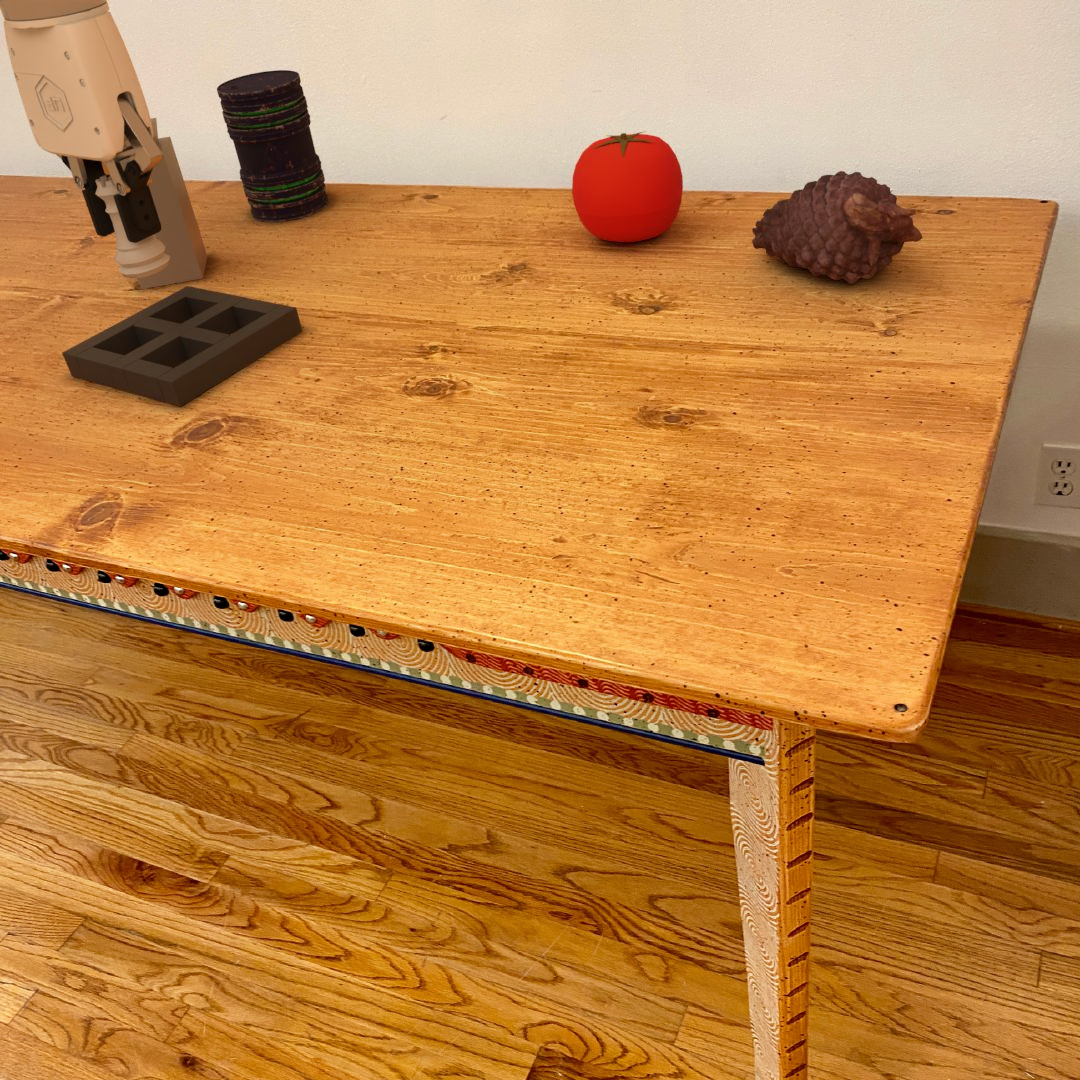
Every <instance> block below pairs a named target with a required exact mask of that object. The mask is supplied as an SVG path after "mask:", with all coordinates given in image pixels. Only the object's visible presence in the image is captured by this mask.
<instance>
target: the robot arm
mask: <svg viewBox="0 0 1080 1080" xmlns="http://www.w3.org/2000/svg"><path fill="white" fill-rule="evenodd" d="M109 10H110V7H109V3H108V1H107V0H0V11H1V15H2V17H3V28H4V36H5V41H6V45H7V46H6V47H7V52H8V56H9V60H10V64H11V67H12V72H13V76H14V79H15V82H16V85H17V89H18V93H19V96H20V99H21V102H22V105H23V108H24V112H25V115H26V118H27V120H28V124H29V127H30V130H31V132H32V135H33V137H34V138H33V139H34V140H35V143H36V144H37V145H38V147H39V148H41V149H42V150H44V151H45V152H47V153H50V154H52V155H56V157H58V158H59V159H60V160H61V161H62V163H63V164H64V165H65V166H66V167H67V169H68V170H69V171H70V172H71V175H72V179H73V182H74V184H75V186H76V187H77V188H78V189H80V190H81V194H82V196H83V198H84V202H85V204H86V207H87V211H88V213H89V217H90V218H91V221H92V225H93V227H94V230H95V234H96V235H97V236H99V237H107V236H109V235H112V234H115V231H114V227H113V223H112V220H111V218H110V215H109V214H108V213H107V212H106V211H105V210H106V204H105V202H104V200H102V199H101V198H100V197H98V196H97V195H96V194H95V193H96V190H97V184H96V182H95V181H96V179H100V177H102V176H104V175H105V176H106V177H107V180H108V178H109V177H110V176H111V179H112V181H113V183H114V185H115V188H116V190H117V192H118V193H119V194H117V195H114V196H113V197H114V200H115V203H116V206H117V209H118V212H119V215H120V218H121V221H122V224H123V227H124V230H125V233H126V236H127V239H128V241H130V242H133V243H137V242H139V241H141V240H143V239H145V238H148V237H150V236H152V235H154V234H156V233H158V232H160V231H161V228H162V227H161V223H160V220H159V217H158V214H157V211H156V207H155V204H154V201H153V198H152V195H151V191H150V188H149V185H151V184H152V179H151V176H150V175H151V172H152V170H153V167H155V166H156V165H157V164H158V163H159V162H160V161H161V160H162V153H161V151H160V149H159V148H158V146H157V144H156V143H155V141H154V140H153V127H152V123H151V114H150V111H149V107H148V104H147V102H146V98H145V95H144V92H143V88H142V87H141V84H140V81H139V77H138V75H137V72H136V70H135V67H134V63H133V61H132V59H131V57H130V54H129V52H128V49H127V45H126V44H125V41H124V39H123V37H122V34H121V33H120V30H119V27H118V26H117V24H116V21H115V20H114V18H113V16H112V13H111V11H109ZM124 144H125V146H126V148H123V146H124ZM126 158H129V160H130V162H128V163H127V164H126V167H125V170H124V171H123V168H122V166H121V163H120V161H121V160H124V159H126ZM109 180H110V179H109ZM100 181H101V180H100Z"/></svg>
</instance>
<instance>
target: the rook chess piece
mask: <svg viewBox="0 0 1080 1080" xmlns="http://www.w3.org/2000/svg"><path fill="white" fill-rule="evenodd" d="M100 180H101V181H100ZM95 182H96V184H97V190H96V193H95V194H96V195H97V196H98V197H100V198H101V199H102V200H104V202H105V204H106V210H105V211H106V212H107V213H108V214H109V215H110V218H111V220H112V223H113V227H114V231H115V232H114V235H115V238H116V239H115V240H116V245H115V248H116V250H117V251H116V253H115V255H114V261H115V263H117V264H118V265H119V266H120V267H119V269H118V273H120V274H121V275H122V276H123V277H125V278H126V279H137V278H141V277H145V276H149V275H152V274H155V273H157V272H159V271H161V270H163V269H164V268H166V267H167V266H168V262H169V259H170V256H169V255H168V254H165V253H164V251H165V248H166V247H165V246H164V244H163V243H162V242H161V241H159V240H157V239H156V236H155V235H152V236H150V237H148V238H145V239H143V240H141V241H139V242H137V243H133V242H130V241H128V239H127V236H126V233H125V230H124V227H123V224H122V221H121V218H120V215H119V212H118V209H117V206H116V203H115V200H114V197H113V196H114V195H117V194H119V193H118V192H117V190H116V188H115V185H114V183H113V181H112V179H110V180H107V177H106V176H105V175H104V176H102V177H100V179H96V181H95Z"/></svg>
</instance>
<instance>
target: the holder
mask: <svg viewBox="0 0 1080 1080" xmlns="http://www.w3.org/2000/svg"><path fill="white" fill-rule="evenodd" d="M302 332H303V327H302V324H301V321H300V316H299V312H298V309H297V307H295V306H291V305H286V304H280V303H275V302H270V301H265V300H260V299H255V298H249V297H246V296H241V295H236V294H232V293H231V294H230V293H226V292H220V291H215V290H211V289H204V288H200V287H194V286H189V285H187V286H185V287H183V288H181V289H179V290H177V291H174V292H173V293H172V294H170V295H168V296H166V297H164V298H162V299H160V300H158V301H157V302H156V301H155V303H153V304H151V305H149V306H147V307H145V308H143V309H141V310H139V311H138V312H135V313H134V314H132V315H129V316H128V317H126V318H124V319H123V320H120V321H119V322H117V323H115V324H113V325H111V326H110V327H107V328H106V329H104V330H102V331H100V332H98V333H96V334H95V335H92V336H91V337H89V338H87V339H85V340H84V341H81V342H80V343H78V344H76V345H74V346H72V347H70V348H68V349H66V350H65V351H62V352H61V354H62V356H63V359H64V361H65V363H66V366H67V368H68V370H69V373H70V375H71V377H74V378H77V379H81V380H84V381H88V382H92V383H95V384H99V385H102V386H104V387H105V386H106V387H109V388H113V389H116V390H119V391H122V392H126V393H129V394H134V395H137V396H139V397H144V398H148V399H151V400H155V401H158V402H162V403H165V404H168V405H169V404H170V405H172V406H177V407H182V406H184V405H186V404H188V403H190V402H191V401H193V400H194V399H196V398H198V397H199V396H201V395H202V394H204V393H205V392H206V391H208V390H210V389H213V388H214V387H215V386H217V385H219V384H220V383H222V382H223V381H225V380H226V379H228V378H230V377H232V375H235V374H236V373H238V372H239V371H241V370H243V369H244V368H246V367H247V366H249V365H251V364H252V363H254V362H255V361H257V360H258V359H260V358H262V357H263V356H265V355H266V354H268V353H270V352H271V351H273V350H275V349H276V348H278V347H279V346H281V345H282V344H284V343H286V342H288V341H289V340H290V339H292V338H293V337H295V336H297V335H298V334H300V333H302Z"/></svg>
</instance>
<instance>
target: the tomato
mask: <svg viewBox="0 0 1080 1080" xmlns="http://www.w3.org/2000/svg"><path fill="white" fill-rule="evenodd" d="M645 132H646V133H647V130H644V131H641V132H635V133H630V134H628V133H626V132H621V133H620V134H618V135H610V136H607V137H604V138H601V139H598V140H596V141H593V142H591V144H589V146H588V147H587V148H585V149H584V150H583V151H582V153H581V154H580V155H579V158H578V159H577V162H576V164H575V166H574V170H573V174H572V182H571V183H572V184H571V185H572V186H571V196H572V200H573V205H574V208H575V211H576V214H577V216H578V218H579V220H580V222H581V223H582V224H583V226H584V227H585V229H586V230H587V231H588V232H589V233H590V234H591V235H593V237H596V238H597V239H601V240H603V241H608V242H615V243H634V242H641V241H646V240H650V239H652V238H656V237H658V236H661V235H662V234H663V233H665V232H666V231H667V230H668V229H669V228H670V227H672V225H673V223H674V222H675V220H676V219H677V217H678V214H679V211H680V208H681V204H682V198H683V190H684V183H683V178H684V177H683V172H682V168H681V164H680V162H679V159H678V156H677V155H676V153H675V152H674V150H673V149H672V147H671V146H670V144H669V143H668V142H666V141H665V140H663V139H662V138H661V137H659V136H657V135H652V134H645Z"/></svg>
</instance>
